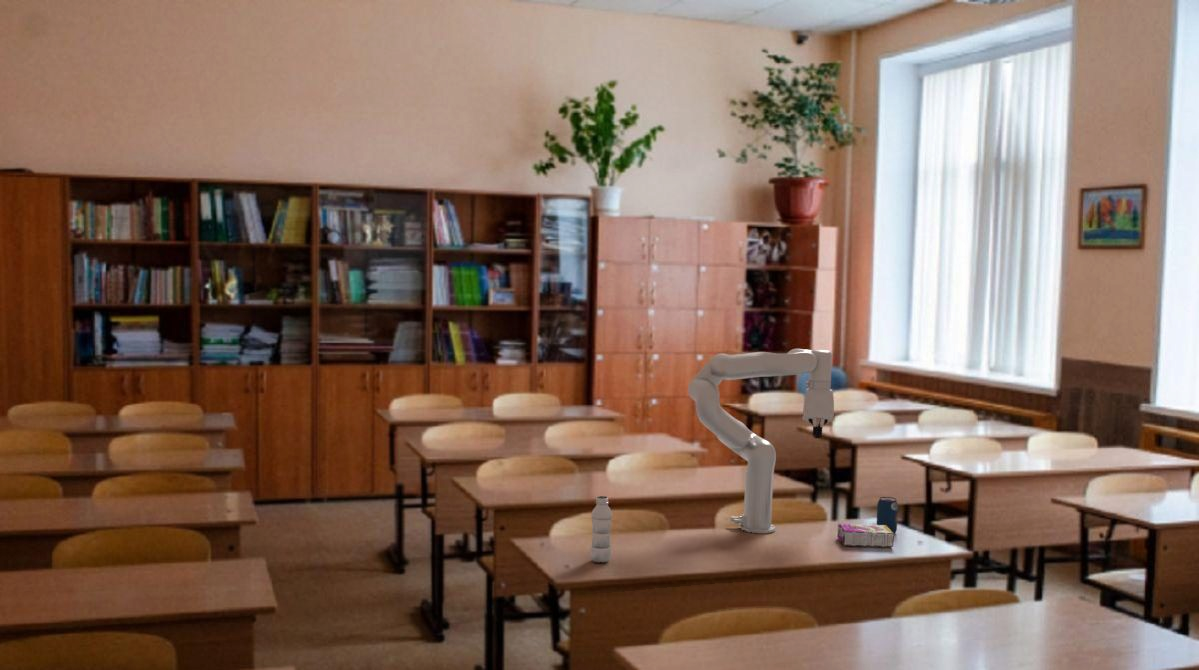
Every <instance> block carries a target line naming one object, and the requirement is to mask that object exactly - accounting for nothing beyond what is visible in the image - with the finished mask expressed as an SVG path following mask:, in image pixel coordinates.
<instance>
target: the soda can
mask: <svg viewBox="0 0 1199 670" xmlns="http://www.w3.org/2000/svg"><path fill="white" fill-rule="evenodd" d="M898 513H899V503H898V501H897V498H895V497H890V496H880V497H879V500H877V506H876V524H875V525H886V526H887V527H888V528H889V529H890V530H891V531H892V532H893V533H894V535H895V533H897V530H898Z"/></svg>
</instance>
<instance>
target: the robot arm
mask: <svg viewBox="0 0 1199 670" xmlns="http://www.w3.org/2000/svg"><path fill="white" fill-rule="evenodd" d="M832 362H833V354H832V351H830V350H829V349H828V350H827V349H812V350H811V349H803V348H793V349H791V350H789V351H788V352H787V353H774V352H768V351H767V352H766V351H757V352H748V353H737V354H727V353H722V352H721V353H717V354H715V355H714V356H712V357H711V358H710V359H709V360H708V362H706V364H705V365H704V366H703V367H702V368H701V369H700V370H699V372H697V374H696V375H695V376H694V377H693V378H692V379H691V380H690V382H689V383H688V387H687V393H688V395H689V398H690V399H691V400H693V401H694V402H696V403H695V404H696V405H695V409H696V415H697V418H698V420H699V422H700V423H701V424H702V425H703V426H704V427H705V428H707V429H708V430H709V431H710V432H712V434H714V435H715V436H716V438H717V439H718V440H719V442H721V444H723V445H724V446H725V447H727V448H728V449H730V450H731V451H732V452H734V453H735V454H737V455H738V456H739V457H741V458H742V459H744V460H745V461H747V467H746V470H745V475H744V476H745V477H744V503H743V506H744V507H743V513H742V514H741V515H739V516H736V515H735V516H733V515H732V516H730V518H729V519H730V521H729V522H730V523H734V524H738V529H739V528H741V529H743V530H745V531H744V532H746V531H747V532H746V533H750V532H752V533H751V534H771V533H774V532H775V531H776V526H775V525H774V524H772V509H773V486H774V485H773V484H774V472H775V466H776V459H777V453H776V448H775V447H774V446H773V444H772V443H771V442H770V441H768V440H766V439H765V438H763V437H761V436H759V435H757V434H756V433H755V432H753V431H752V430H750V429H749V428H748V427H747V426H746V424H745V423H743V422H742V421H740V420H739V419H736V418H735V417H734V416H732V415H731V414H730V413H729V412H727V411H726V410H725V409H723V407H722V406H721V404H720V390H719V387H718V386H719V385H720V384H721V383H722V381H723V380H725V381H733V380H734V381H735V380H742V379H751V378H760V377H762V378H763V377H779V376H795V375H804V374H808V380H807V381H804V383H803V385H804V386H806V387H808V388H806V390H805V394H804V399H803V408H802V409H803V410H802V411H803V413H802V414H803V415H802V420H803V421H804V422H805V421H806V422H808V423H810V424H811V426H812V436H813V438H814V439H821V437H822V436H823V428H824V426H825V425H826V424H827V423H830V422H831V423H832V422H834V416H835V415H834V414H835V402H834V401H835V400H834V399H835V397H834V390H833V389H831V386H832V385H831V383H832V381H831V380H832V366H833V365H832ZM817 419H819V421H818V423H817ZM741 529H740V530H741ZM743 530H742V531H743Z"/></svg>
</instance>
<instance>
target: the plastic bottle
mask: <svg viewBox="0 0 1199 670" xmlns="http://www.w3.org/2000/svg"><path fill="white" fill-rule="evenodd" d="M595 499H596V500H595V504H596V505H595V507H594V508H593V509H592V510H591V511H592V512H591V525H592V537H591V538H592V539H591V546H590V551H589V557H590V559H591V561H592V562H594V563H600V562H601V563H607V562H609V561H610V560H611V555H612V549H611V539H610V538H611V537H610V536H611V535H610V534H611V533H610V532H611V524H612V520H613V512H612V510H611V508H610V507H609V497H608V496H605V495H599V496H596V498H595Z"/></svg>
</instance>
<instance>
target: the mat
mask: <svg viewBox="0 0 1199 670" xmlns="http://www.w3.org/2000/svg"><path fill="white" fill-rule="evenodd" d="M844 546H845V547H850V546H849V545H844ZM860 547H862V548H863V547H864V548H878V547H877V546H860ZM884 548H889V549H891V548H892V547H884Z"/></svg>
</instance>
